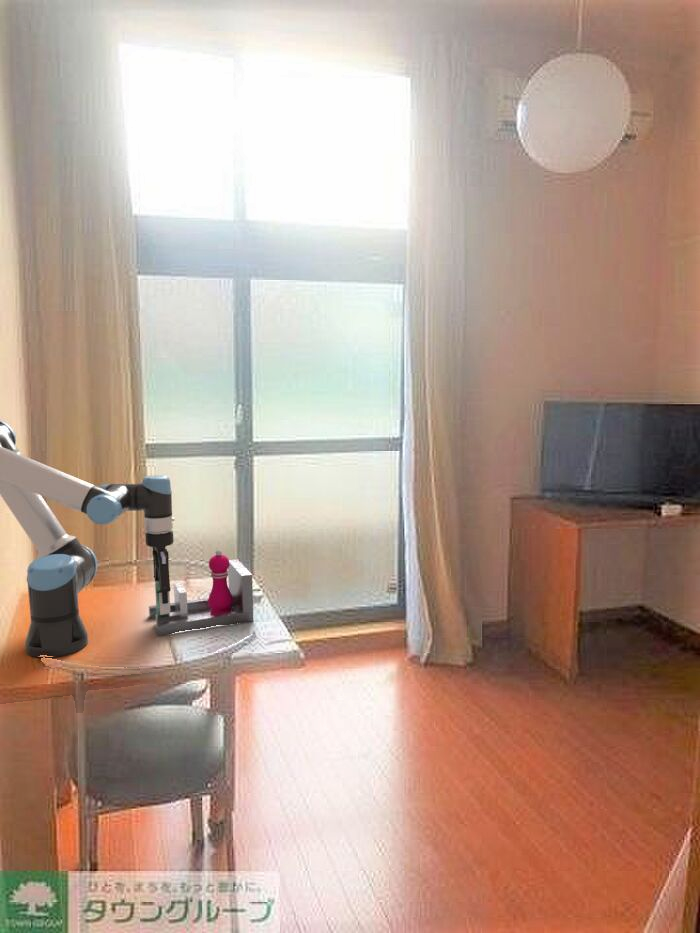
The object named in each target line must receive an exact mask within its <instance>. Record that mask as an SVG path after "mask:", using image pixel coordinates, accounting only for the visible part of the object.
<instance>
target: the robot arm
mask: <svg viewBox="0 0 700 933" xmlns="http://www.w3.org/2000/svg"><path fill="white" fill-rule="evenodd" d="M16 441H17V437H16V433H15V430H14V429H13V428H12V427H11V426H10V425H9V424H8V423H7V422H6V421H4V420H2V419H0V497H1V498H2V500H3V501H4V503H5V504H6V506H7V507H8V508H9V510H10V511H11V513H12V515H13V516H14V517H15V519H16V521H17V522H18V523H19V525H20V527H21V528H22V530H23V531H24V532H25V534H26V536H27V537H28V538H29V539H30V541H31V543H32V544H33V546H34V548H35V549H36V550H37V556H36V559H34V560H33V561H32V562H31V563H30V564H29V565H28V567H27V571H26V572H27V573H26V583H27V592H28V601H29V602H28V604H29V613H30V625H29V628H28V630H27V635H26V638H25V645H24V646H25V647H24V648H25V653H26V654H27V655H28V656H30V657H32V658H33V657H34V658H39V657H38V656H40V655H47V656H58V657H63V656H67V655H70V654H73V653H76V652H78V651H80V650H82V649H83V648H85V647H86V646H87V645H88V643H89V635H88V631H87V629H86V627H85V625H84V623H83V620H82V618H81V616H80V608H79V596H78V595H79V593H80V592H81V591H82V590H83V589H84V588H85V587H86V586H88V585H90V583H91V582H92V581H93V579H94V578H95V576H96V574H97V570H98V559H97V556H96V555H95V553H94V552H93V550H92V549H90V548H89V547H87V546H85V545H83V544H81V543H80V541H79V539H78V538H77V536H75V535H70V534H68V533H67V532H66V530H65V529H64V528H63V526H62V525H61V523H60V522H59V519H57V516H56V515H55V514H54V513H53V511H52V509H51V508H50V507H49V504H47V501H45V498H46V499H49V500H51V501H54V502H56V503H59V504H61V505H64V506H66V507H68V508H71V509H73V510H76V511H77V512H81V513H83V514H85V515H86V516H87V517H88V518H89V520H90V521H91V522H93V523H95V524H97V525H101V526H102V525H107V524H110V523H113V522H114V521H116V520H117V519H119V517H120V516H121V515H123V514H124V513H126V512H132V511H133V512H134V511H136V512H138V511H139V512H140V511H143V513H144V514H143V515H144V516H143V518H144V531H146V532H145V533H144V534H145V545H146V546H147V547H149V548H151V549H152V551H151V554H152V562H153V578H154V582H155V581H157V580H159V587H160V590H159V591H157V593H159V603H160V615H163V614H170V603H171V599H170V598H171V597H170V592H171V583H170V582H171V581H170V565H169V564H170V563H169V558H170V557H169V556H170V555H169V551H168V549H167V548H166V547H168V546H171V545H173V543H175V542H174V541H175V540H174V530H172V529H173V528H174V527H173V524H174V523H173V522H174V521H176V520H175V519H176V518H175V517H173V506H172V505H173V504H172V503H173V502H172V500H173V499H172V493H173V492H172V486H171V479H170V477H168V476H167V475H165V474H164V475H163V474H155V475H154V474H153V475H146V476H144V477H143V478H142V481H141V483H114V482H113V483H107V484H106V483H105V484H102V485H100V486H96V485H94V484H92V483H90V482H88V481H84V480H82V479H80V478H78V477H75V476H74V475H71V474H68V473H65V472H63V471H61V470H59V469H56V468H54V467H51V466H49V465H46V464H45V463H42V462H39V461H37V460H34V459H32V458H29V457H28V456H25V455H23V454H21V452H20V450H19V448H18V447H17V446H16V444H17V443H16ZM43 497H44V498H43ZM164 587H165V588H164ZM155 593H156V590H155Z"/></svg>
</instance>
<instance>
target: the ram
mask: <svg viewBox="0 0 700 933" xmlns="http://www.w3.org/2000/svg"><path fill="white" fill-rule="evenodd" d="M154 587H155V588H154V589H155V590H156V592H155V605H156V609H157V615H156V618H155V625H156V624H158V623H164V622H171V621H177V620H184V619H189V617H188V614H189V613H188V611H187V601H188V594H187V590H186V588H185V587H184V585H183V583H182V582H181V581H178V582H173V595H174V596H173V598H174V603H175V612H170V614H163V615H160V603H159V593H157V591H159V590H160V587H159V580H157V581H155V580H154ZM164 588H165V587H164Z"/></svg>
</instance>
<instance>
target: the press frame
mask: <svg viewBox="0 0 700 933" xmlns="http://www.w3.org/2000/svg"><path fill="white" fill-rule="evenodd" d="M229 562H230V565H229V568H228V569H227V571H228V576H227V578H228V588H229V590H230V592H231V594H232V597H233V604H232V605H231V607H230V608H231V609H232V612H230V613H223V614H217V615H203V616H197V617H192V618H188V619H184V620H177V621H171V622H164V623H158V624H156V623H155V635H156V636H157V637H165V636H170V634H172V633H175V632H179V631H185V630H192V629H200V628H206V627H211V626H216V625H228V626H231V625H230V624H234V625H240V624H239V623H241V624H245V623H246V624H247V623H253V622H254V596H253V594H254V593H253V574H252V573H251V572H250V571H249V570H248V569H247V568H246V567H245V565H244V564H243V563H242V562H241V561H240V560H239V559H229ZM208 599H209V597H206V598H198V599H191V600H187V611H188V614H189V613H194V612H201V611H202V610H203V611H208V610H211V608H210V606H209V605H208ZM203 611H202V612H203ZM170 612H175V602H170ZM148 615H149V618H150V619H154V618H155V619H156V615H157V609H156V604H155V605H149V606H148ZM237 623H238V624H237ZM172 635H173V634H172Z"/></svg>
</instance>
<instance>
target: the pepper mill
mask: <svg viewBox="0 0 700 933" xmlns="http://www.w3.org/2000/svg"><path fill="white" fill-rule="evenodd" d="M222 553H223V551H222V550H221V549H217V550H216V551H215V555H213V556H211V557H210V559H209V560H208V569H210V570H211V571H210V577H211V578H212V588H211V591H210V593H209V596H208V598H209V599H208V605H209V606H210V608H211V609H210V611H209V612H210V613H209V614H210V615H217V614H223V613H230V612H233V608H232V607H231V605H232V604H233V597H232V594H231V592H230V590H229V584H228V580H227V578H228V568H229V565H230V562H229V560H230V559H229V558H228V557H227V556H226V555H224V554H222ZM210 615H209V616H210Z"/></svg>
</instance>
